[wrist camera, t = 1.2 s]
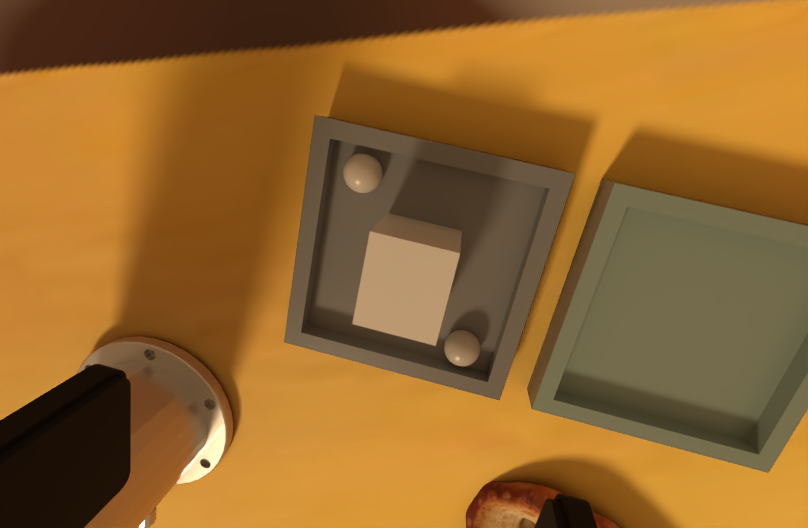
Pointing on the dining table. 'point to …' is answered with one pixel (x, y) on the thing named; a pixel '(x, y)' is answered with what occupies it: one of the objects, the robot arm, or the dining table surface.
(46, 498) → the robot arm
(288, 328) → the bin
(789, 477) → the dining table surface
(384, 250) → the beige block
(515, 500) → the bread slice
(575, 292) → the bin
